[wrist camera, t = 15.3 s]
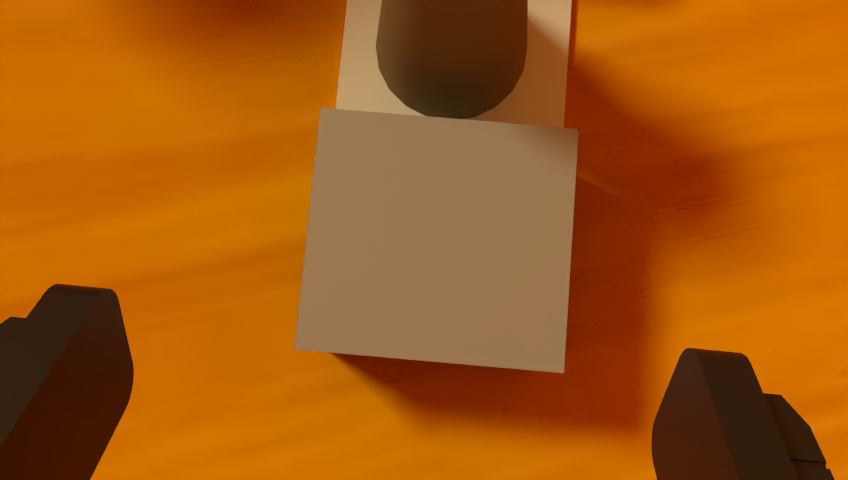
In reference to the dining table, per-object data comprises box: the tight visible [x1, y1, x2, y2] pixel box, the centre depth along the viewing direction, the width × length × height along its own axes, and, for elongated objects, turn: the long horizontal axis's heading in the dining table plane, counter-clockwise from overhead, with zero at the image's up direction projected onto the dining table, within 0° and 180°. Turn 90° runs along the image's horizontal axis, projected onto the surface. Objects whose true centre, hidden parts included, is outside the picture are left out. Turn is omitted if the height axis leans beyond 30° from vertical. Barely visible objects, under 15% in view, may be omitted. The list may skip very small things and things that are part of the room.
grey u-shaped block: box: [294, 0, 579, 373], centre depth 27 cm, size 25×9×5 cm, turn 175°
